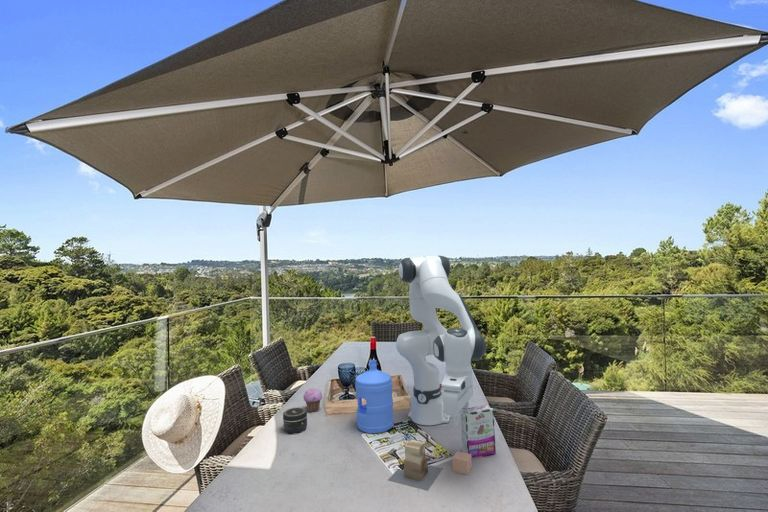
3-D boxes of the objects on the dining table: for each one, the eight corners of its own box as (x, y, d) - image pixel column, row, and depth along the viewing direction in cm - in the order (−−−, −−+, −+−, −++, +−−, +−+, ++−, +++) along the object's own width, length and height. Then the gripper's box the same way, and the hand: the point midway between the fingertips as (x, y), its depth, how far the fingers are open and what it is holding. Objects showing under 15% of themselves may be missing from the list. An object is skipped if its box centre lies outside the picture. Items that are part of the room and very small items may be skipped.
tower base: (411, 467, 141) (410, 453, 141) (427, 471, 138) (427, 456, 138) (404, 476, 136) (403, 461, 136) (420, 480, 133) (420, 465, 133)
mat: (405, 460, 147) (405, 459, 147) (443, 469, 140) (443, 468, 140) (387, 481, 134) (387, 480, 134) (427, 491, 128) (427, 490, 128)
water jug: (395, 418, 183) (392, 355, 183) (392, 434, 168) (389, 365, 167) (360, 418, 185) (357, 356, 184) (354, 434, 169) (351, 366, 169)
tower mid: (411, 454, 140) (411, 439, 140) (425, 457, 138) (424, 442, 138) (405, 461, 136) (404, 446, 136) (419, 464, 134) (418, 449, 134)
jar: (294, 436, 169) (293, 418, 169) (278, 431, 175) (277, 413, 175) (312, 427, 177) (311, 409, 177) (296, 422, 183) (295, 405, 183)
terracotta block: (457, 465, 142) (457, 451, 142) (471, 468, 140) (471, 454, 140) (452, 472, 138) (452, 457, 138) (467, 476, 136) (467, 461, 135)
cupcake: (302, 408, 199) (301, 388, 199) (319, 405, 203) (318, 384, 202) (306, 415, 191) (305, 393, 191) (325, 411, 195) (324, 390, 194)
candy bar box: (489, 448, 153) (487, 404, 153) (496, 454, 149) (494, 409, 148) (461, 453, 150) (459, 408, 150) (467, 459, 146) (466, 413, 145)
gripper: (459, 368, 149) (461, 406, 149) (439, 386, 131) (441, 429, 131) (476, 370, 146) (478, 409, 146) (458, 388, 128) (460, 432, 128)
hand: (460, 418), depth 139 cm, fingers open, 8 cm apart
